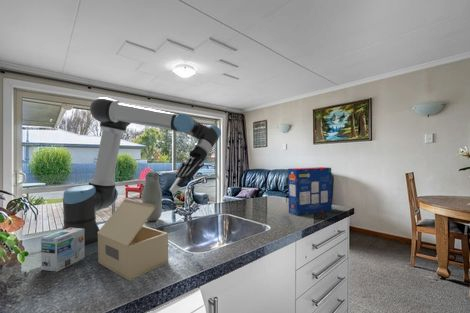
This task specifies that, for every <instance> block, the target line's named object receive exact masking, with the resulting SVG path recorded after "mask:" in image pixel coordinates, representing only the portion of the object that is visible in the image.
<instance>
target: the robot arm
mask: <svg viewBox="0 0 470 313" xmlns="http://www.w3.org/2000/svg"><path fill="white" fill-rule="evenodd" d="M89 112H90V115H91V116H92V117H93V118H94V119H95V121H98V122H99V127H100V129H101V131H102V133H101V135H100V136H101V137H100V142H99V148H98V151H97V152H98V153H97V158H96V165H95V167H94V168H95V169H94V172H93V174H94V175H93V178H92V179H90V180H89V182H88V184H86V185H78V186H73V187H70V188H67V189H65V190H64V192H63V194H62V195H63V196H62V203H63V204H62V207H63V208H62V210H63V212H62V215H63V226H62V228H61V231H62V230H65V229H67V228H81V229H84V230H85V231H84V235H85V236H84V238H85V239H84V240H85V245H89V244H92V243H94V242H96V241H98V233H97V232H98V231H99V230H100V227H99V225H98V223H97V220H96V218H97V217H96V215H97V214H96V212H98V211H101V210H103V209H106V208H107V209H108V208H109V207H110V206H113V204H114V203H115V202H116V201H117V200H118V196H119V193H118V190H117V188H116V185H117V184H116V181H114V178H115V177H114V176H115V172H116V166H117V161H118V157H119V150H120V145H121V140H122V135H123V134H124V133H126V132H127V127H129V125H131V124H134V125H141V126H146V127H151V128H157V129H163V130H168V131H173V132H177V133H184V134H186V135H189V136H191V137H193V138H194V139H197V141H196V143H194V146H193V147H192V148H191V150H190V151H189V156H188V157H187V158H186V160H183V159H182V160H181V161H180V164H179V166H178V169H177V171H176V173H175V174H174V177H175V178H176V179H175V180H174V182H173V183H172V185H171V187H170V188H168V191H169V192H171V194H172V195H176V194H177V192H178V191H179V190H180V188H181V187H182V186H183V185H184V183H185V182H186V181H190V180H191V179H192V178H193V177H194V176H195V174H197V173H198V172H199V170H200V169H201V168H202V167H204V166H205V163H204V161H205V160H206V159H207V156H208V155H209V154H210V152H211V150H212V149H213V147H214V146H215V145H216V143H217V142H218V141H219V138H220V137H221V135H222V134H221V133H222V132H221V131H222V130H221V128H219V126H217V125H215V124H209V125H208V126H207V125H204V124H202V123H201V122H198V121H197V120H196V119H194V118H192V116H190V115H189V114H186V113H174V112H168V111H164V110H159V109H153V108H147V107H142V106H136V105H131V104H130V105H129V104H127V103H126V104H125V103H121V102H120V101H119V100H116V99H112V98H109V97H104V96H103V97H98V98H97V97H96V98H95V99H94V100H92V102H91V104H90V106H89Z"/></svg>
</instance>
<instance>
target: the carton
mask: <svg viewBox="0 0 470 313" xmlns="http://www.w3.org/2000/svg"><path fill="white" fill-rule="evenodd" d="M97 262H98V264H100V265H102V266H103V267H105V268H106V269H109V270H111V271H112V272H114V273H115V274H117V275H118V276H121V278H124V279H126V280H127V281H132V280H134V279H135V278H138V277H140V276H142V275H144V274H147V273H148V272H151V271H152V270H154V269H156V268H159V267H161V266H163V265H165V264H167V263H169V233H168V232H166V231H162V230H159V229H155V228H152V227H149V226H146V225H143V226H142V227H141V229H140V230H139V232H138V233H137V234H136V236H135V237H134V239H133V240H132V241H131V243H130V244H129V246H126V245H123V244H121V243H119V242H116V241H114V240H112V239H109V238H107V237H105V236H102V235H100V234H98V240H97Z"/></svg>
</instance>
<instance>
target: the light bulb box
mask: <svg viewBox="0 0 470 313" xmlns="http://www.w3.org/2000/svg"><path fill="white" fill-rule="evenodd" d="M84 231H85V230H84V229H81V228H67V229H65V230H62V229H61V230H58V231H56V232H54V233H51V234H48V235H44V236H42V237H40V239H41V240H40V241H41V242H40V244H41V246H40V248H41V250H40V252H41V253H40V254H41V255H40V256H41V271H48V272H56V273H57V272H60V271H62V270H63V269H66V268H68V267H69V266H71V265H73V264H75V263H77V262H79V261H82V260H84V259H85V251H86V250H85V249H86V248H85V246H86V244H85V240H84V239H85V238H84V236H85V235H84Z"/></svg>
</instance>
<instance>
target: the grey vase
mask: <svg viewBox="0 0 470 313" xmlns="http://www.w3.org/2000/svg"><path fill="white" fill-rule="evenodd" d="M144 181H145V182H144V186H143V190H142V193H141V194H142V197H141V198H142V199H141V201H142V202H141V203H146V204H151V205H155V206H157V207H156V208H155V209H154V211H153V212H152V214H151V215H150V216H149V218H148V219H147V221H148V222H156V221H158V220H160V218H161V216H162V211H163V208H162V207H163V205H162V204H163V201H162V200H163V192H162V188H161V184H160V174H159V173H158V172H157V171H149V172H146V174H145V180H144ZM147 221H146V222H147Z"/></svg>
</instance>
